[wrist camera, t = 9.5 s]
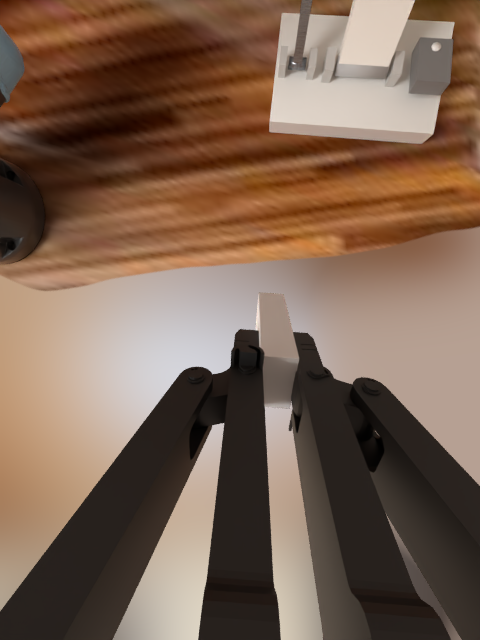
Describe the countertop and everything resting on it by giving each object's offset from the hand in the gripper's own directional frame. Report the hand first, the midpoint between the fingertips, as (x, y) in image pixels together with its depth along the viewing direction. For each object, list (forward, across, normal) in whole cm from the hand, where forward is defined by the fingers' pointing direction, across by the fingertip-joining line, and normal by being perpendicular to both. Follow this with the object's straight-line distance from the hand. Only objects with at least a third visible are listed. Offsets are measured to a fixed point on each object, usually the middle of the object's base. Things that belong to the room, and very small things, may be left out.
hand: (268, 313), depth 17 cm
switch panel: (+31, +10, +18) cm, 37 cm away
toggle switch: (+28, +3, +19) cm, 34 cm away
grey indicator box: (+27, +18, +19) cm, 38 cm away
